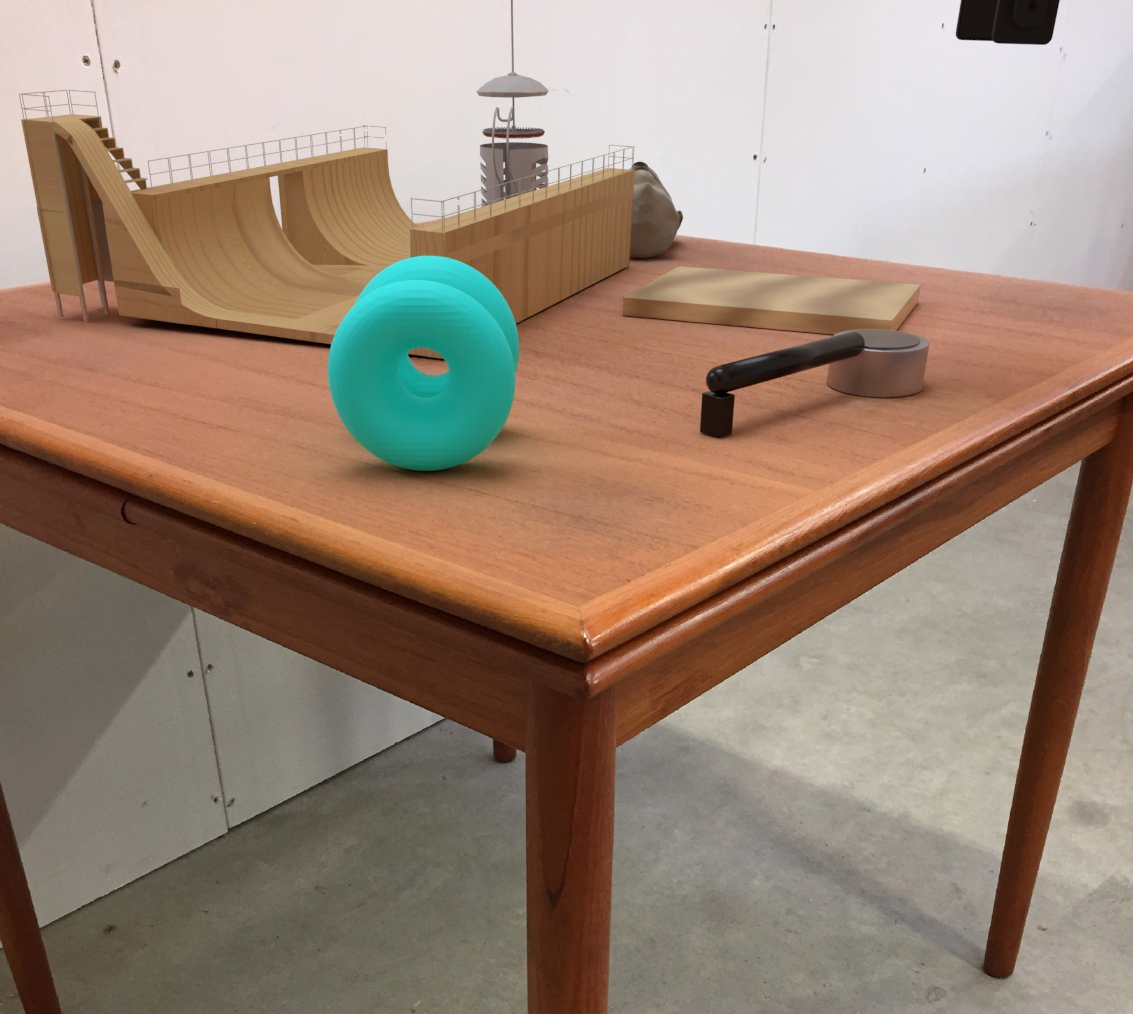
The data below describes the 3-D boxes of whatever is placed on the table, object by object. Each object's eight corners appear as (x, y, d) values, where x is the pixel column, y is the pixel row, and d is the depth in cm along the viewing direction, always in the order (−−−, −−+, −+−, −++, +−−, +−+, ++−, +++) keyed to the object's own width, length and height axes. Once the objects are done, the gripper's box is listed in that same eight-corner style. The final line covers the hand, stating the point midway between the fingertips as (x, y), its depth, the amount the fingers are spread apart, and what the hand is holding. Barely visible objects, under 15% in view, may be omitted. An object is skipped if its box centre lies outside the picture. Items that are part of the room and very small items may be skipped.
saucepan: (862, 368, 87) (870, 309, 85) (941, 385, 84) (950, 324, 81) (667, 424, 76) (671, 358, 74) (748, 448, 72) (753, 379, 70)
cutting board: (918, 302, 107) (920, 284, 106) (889, 339, 95) (892, 319, 94) (676, 283, 114) (677, 265, 113) (622, 315, 102) (622, 296, 101)
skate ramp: (447, 373, 89) (442, 126, 81) (57, 317, 100) (15, 93, 91) (629, 276, 121) (639, 91, 112) (318, 241, 131) (305, 69, 123)
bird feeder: (564, 217, 148) (564, -29, 134) (544, 233, 138) (543, -31, 125) (484, 215, 149) (477, -29, 136) (459, 230, 139) (449, -31, 126)
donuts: (333, 477, 67) (314, 285, 62) (358, 424, 75) (344, 251, 70) (515, 478, 67) (512, 286, 62) (521, 424, 75) (518, 251, 70)
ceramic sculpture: (593, 164, 117) (581, 157, 131) (591, 261, 122) (580, 245, 135) (703, 165, 118) (680, 158, 131) (697, 261, 122) (676, 245, 135)
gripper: (1206, -386, 56) (1109, 47, 65) (1092, -303, 71) (1026, 41, 79) (1039, -389, 56) (966, 43, 65) (960, -305, 71) (910, 37, 80)
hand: (999, 41), depth 72 cm, fingers open, 9 cm apart
